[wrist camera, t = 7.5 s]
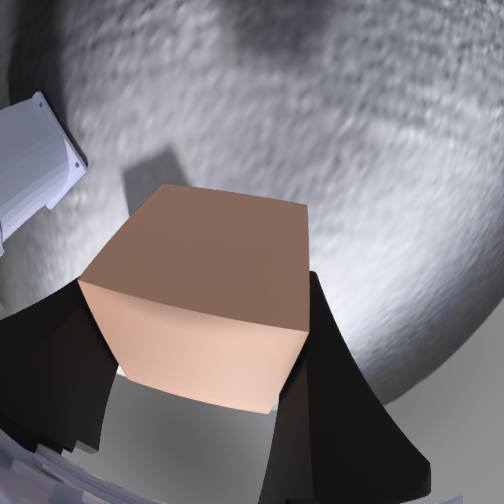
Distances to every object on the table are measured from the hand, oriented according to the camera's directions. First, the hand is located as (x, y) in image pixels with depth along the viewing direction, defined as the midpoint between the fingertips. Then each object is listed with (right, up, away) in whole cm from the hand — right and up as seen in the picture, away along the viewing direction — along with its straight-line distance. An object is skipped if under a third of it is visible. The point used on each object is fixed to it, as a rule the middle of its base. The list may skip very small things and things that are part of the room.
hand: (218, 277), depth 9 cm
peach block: (0, +1, +1) cm, 1 cm away
